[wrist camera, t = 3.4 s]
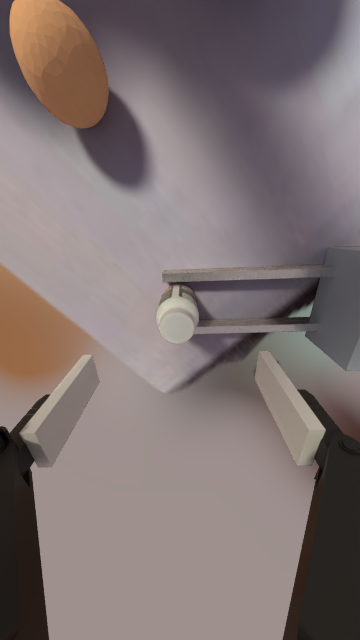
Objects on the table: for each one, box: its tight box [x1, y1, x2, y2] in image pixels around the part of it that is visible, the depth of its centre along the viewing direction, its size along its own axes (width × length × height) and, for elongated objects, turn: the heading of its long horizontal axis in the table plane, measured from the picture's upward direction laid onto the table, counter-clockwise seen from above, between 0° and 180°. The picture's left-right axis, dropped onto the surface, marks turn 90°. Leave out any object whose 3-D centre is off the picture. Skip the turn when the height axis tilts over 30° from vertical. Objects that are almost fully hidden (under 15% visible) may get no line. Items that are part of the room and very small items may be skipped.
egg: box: [10, 0, 109, 129], centre depth 17 cm, size 7×7×9 cm
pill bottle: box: [156, 284, 199, 344], centre depth 26 cm, size 5×5×10 cm
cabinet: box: [305, 246, 360, 371], centre depth 26 cm, size 6×14×9 cm, turn 2°
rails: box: [162, 265, 336, 334], centre depth 29 cm, size 23×9×2 cm, turn 92°
